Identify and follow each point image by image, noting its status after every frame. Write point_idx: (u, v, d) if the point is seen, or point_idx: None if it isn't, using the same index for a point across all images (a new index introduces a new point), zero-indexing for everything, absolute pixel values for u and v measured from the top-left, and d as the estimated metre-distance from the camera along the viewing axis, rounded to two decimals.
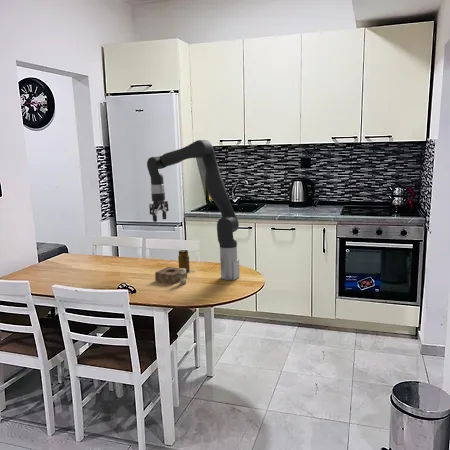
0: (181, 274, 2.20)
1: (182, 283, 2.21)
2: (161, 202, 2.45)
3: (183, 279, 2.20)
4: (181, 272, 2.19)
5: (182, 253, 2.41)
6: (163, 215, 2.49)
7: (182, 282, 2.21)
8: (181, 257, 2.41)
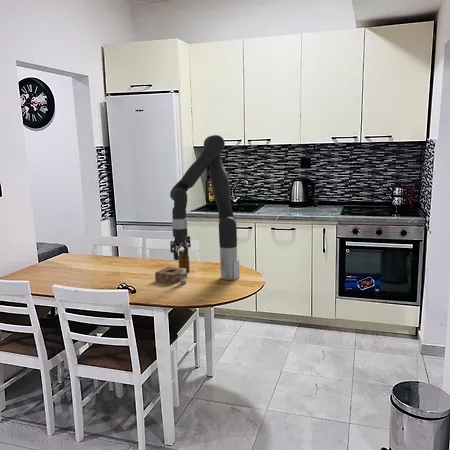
0: (181, 274, 2.20)
1: (182, 283, 2.21)
2: (183, 238, 2.18)
3: (183, 279, 2.20)
4: (181, 272, 2.19)
5: (182, 253, 2.41)
6: (185, 252, 2.23)
7: (182, 282, 2.21)
8: (181, 257, 2.41)
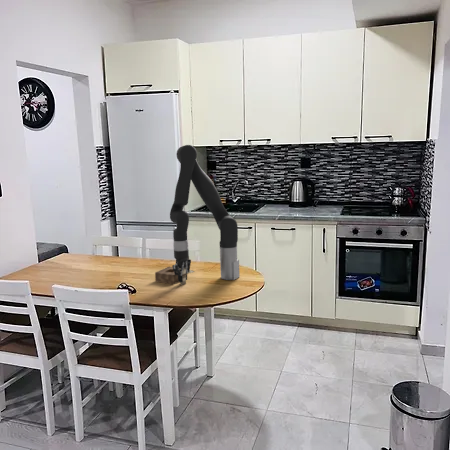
0: None
1: (182, 283, 2.21)
2: (184, 259, 2.20)
3: (183, 279, 2.20)
4: None
5: None
6: None
7: (182, 282, 2.21)
8: None
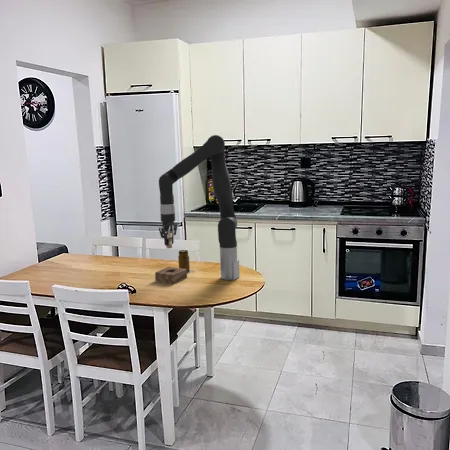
0: None
1: (168, 246, 2.25)
2: (171, 223, 2.24)
3: (169, 242, 2.25)
4: None
5: (182, 253, 2.41)
6: None
7: (168, 245, 2.25)
8: (181, 257, 2.41)
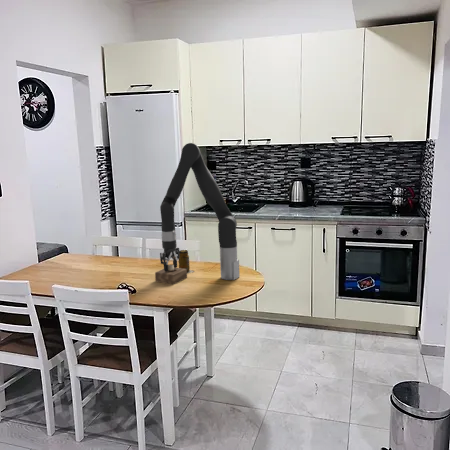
0: (169, 270, 2.27)
1: None
2: (172, 249, 2.28)
3: None
4: (169, 268, 2.27)
5: (182, 253, 2.41)
6: (174, 263, 2.32)
7: None
8: (181, 257, 2.41)
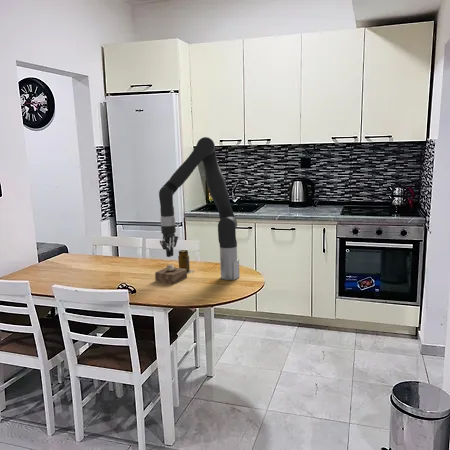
0: (169, 270, 2.27)
1: None
2: (171, 235, 2.26)
3: None
4: (169, 268, 2.27)
5: (182, 253, 2.41)
6: None
7: None
8: (181, 257, 2.41)
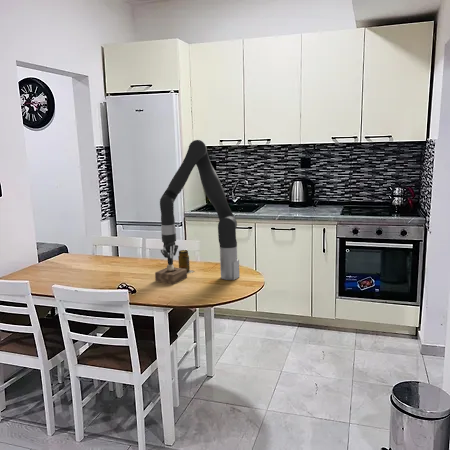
0: (169, 270, 2.27)
1: None
2: (172, 243, 2.27)
3: None
4: (169, 268, 2.27)
5: (182, 253, 2.41)
6: None
7: None
8: (181, 257, 2.41)
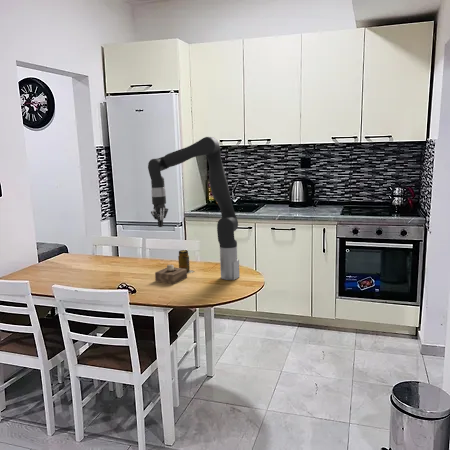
0: (169, 270, 2.27)
1: None
2: (162, 206, 2.35)
3: None
4: (169, 268, 2.27)
5: (182, 253, 2.41)
6: None
7: None
8: (181, 257, 2.41)
